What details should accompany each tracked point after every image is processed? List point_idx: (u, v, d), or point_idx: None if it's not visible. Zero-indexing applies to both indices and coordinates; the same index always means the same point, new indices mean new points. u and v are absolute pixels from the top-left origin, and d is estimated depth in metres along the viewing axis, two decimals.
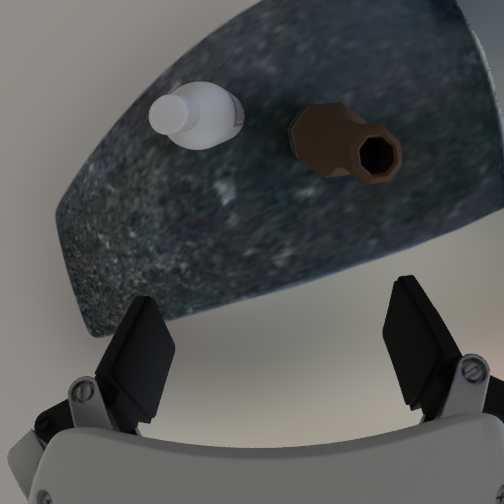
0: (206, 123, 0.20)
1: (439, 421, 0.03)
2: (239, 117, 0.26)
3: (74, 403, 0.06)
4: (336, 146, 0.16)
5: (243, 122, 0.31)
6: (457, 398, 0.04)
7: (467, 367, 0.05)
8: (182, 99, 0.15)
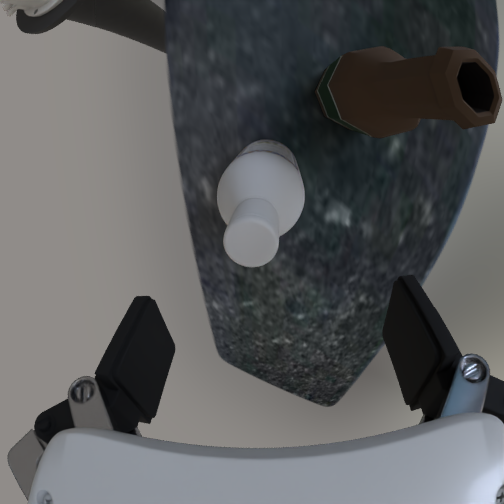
0: (282, 201, 0.17)
1: (439, 421, 0.03)
2: (288, 155, 0.23)
3: (74, 403, 0.06)
4: (422, 107, 0.09)
5: None
6: (457, 398, 0.04)
7: (467, 367, 0.05)
8: (246, 218, 0.14)
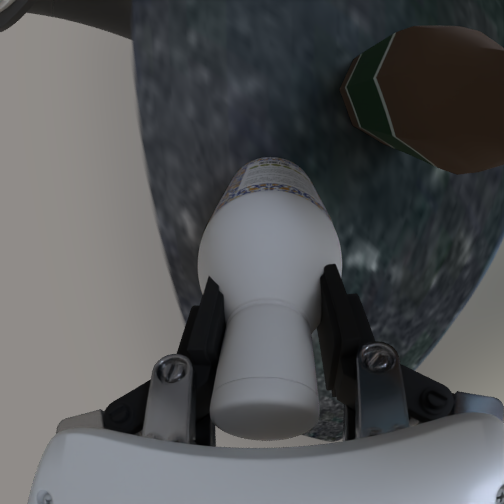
0: (316, 297, 0.09)
1: (439, 421, 0.03)
2: (310, 188, 0.15)
3: (164, 384, 0.06)
4: None
5: (306, 175, 0.19)
6: (370, 393, 0.05)
7: (369, 358, 0.06)
8: (258, 393, 0.05)
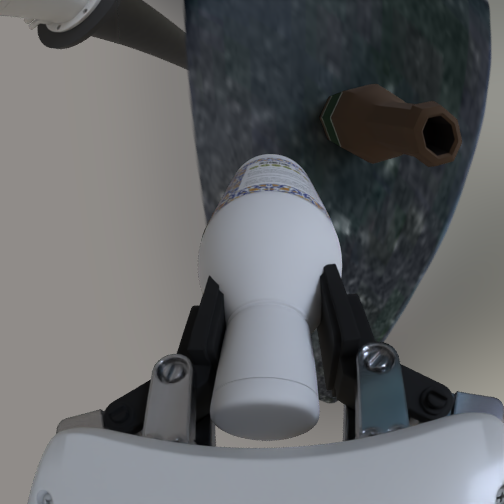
0: (317, 298, 0.09)
1: (439, 421, 0.03)
2: (310, 188, 0.15)
3: (164, 384, 0.06)
4: (400, 148, 0.14)
5: (306, 175, 0.20)
6: (370, 393, 0.05)
7: (369, 358, 0.06)
8: (258, 393, 0.05)
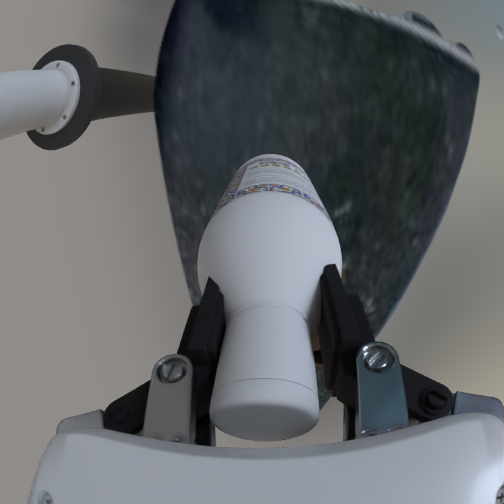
0: (317, 298, 0.09)
1: (439, 421, 0.03)
2: (310, 188, 0.15)
3: (164, 384, 0.06)
4: None
5: (306, 175, 0.19)
6: (370, 393, 0.05)
7: (369, 358, 0.06)
8: (257, 394, 0.05)
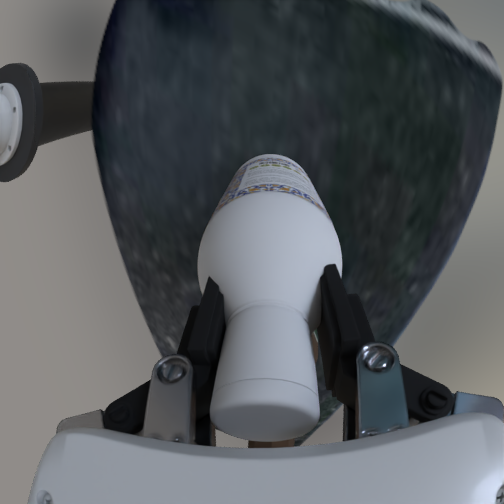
0: (317, 298, 0.09)
1: (439, 421, 0.03)
2: (310, 188, 0.15)
3: (164, 384, 0.06)
4: None
5: (306, 175, 0.19)
6: (370, 394, 0.05)
7: (369, 358, 0.06)
8: (258, 394, 0.05)
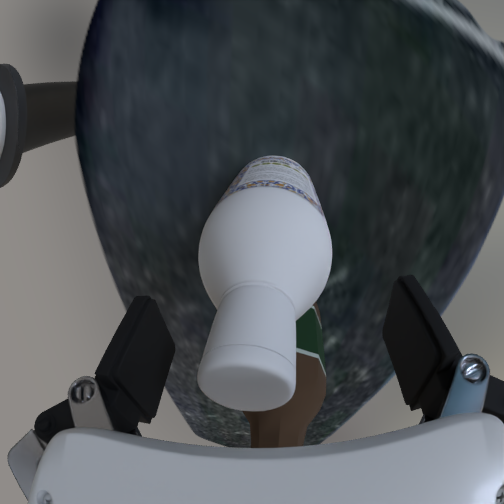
0: (302, 282, 0.10)
1: (439, 421, 0.03)
2: (307, 185, 0.16)
3: (74, 403, 0.06)
4: None
5: (307, 173, 0.20)
6: (457, 398, 0.04)
7: (467, 367, 0.05)
8: (237, 357, 0.07)
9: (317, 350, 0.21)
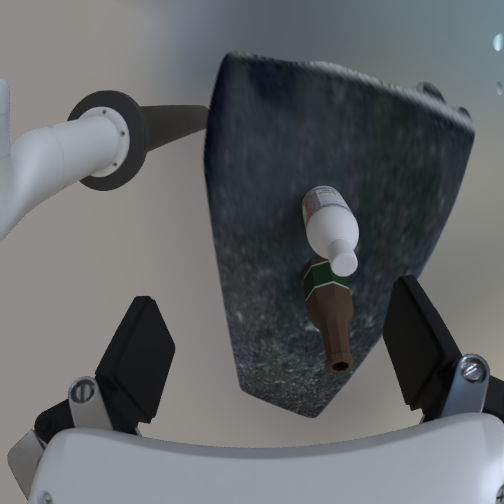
0: (352, 239, 0.30)
1: (439, 421, 0.03)
2: (345, 204, 0.36)
3: (74, 403, 0.06)
4: None
5: (341, 196, 0.40)
6: (457, 398, 0.04)
7: (467, 367, 0.05)
8: (344, 252, 0.27)
9: (347, 285, 0.41)
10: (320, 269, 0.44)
